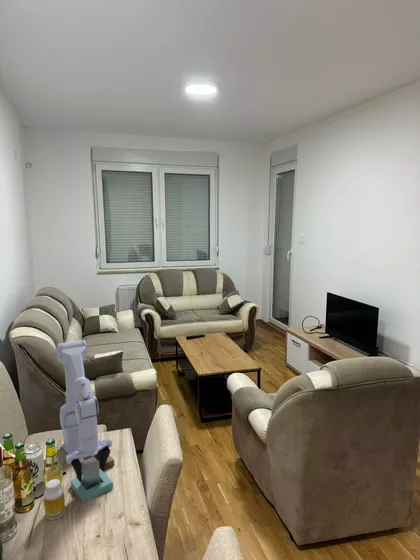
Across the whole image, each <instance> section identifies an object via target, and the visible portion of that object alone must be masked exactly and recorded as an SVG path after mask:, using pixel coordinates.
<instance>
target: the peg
mask: <svg viewBox="0 0 420 560" xmlns="http://www.w3.org/2000/svg"><path fill="white" fill-rule="evenodd" d="M81 474H82V476H83V485H82V486H83V487H84V488H85V489H86V490H88V489H90V488H92V487H94V486H96V485H99V484H101V483H100V475H99V460H98V458H97V459H96V458H95V457H94V456H93V457H91V458H89V459H86V460H84V461H82V470H81Z"/></svg>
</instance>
